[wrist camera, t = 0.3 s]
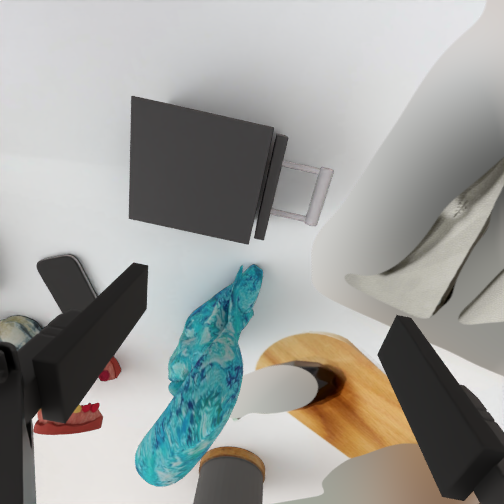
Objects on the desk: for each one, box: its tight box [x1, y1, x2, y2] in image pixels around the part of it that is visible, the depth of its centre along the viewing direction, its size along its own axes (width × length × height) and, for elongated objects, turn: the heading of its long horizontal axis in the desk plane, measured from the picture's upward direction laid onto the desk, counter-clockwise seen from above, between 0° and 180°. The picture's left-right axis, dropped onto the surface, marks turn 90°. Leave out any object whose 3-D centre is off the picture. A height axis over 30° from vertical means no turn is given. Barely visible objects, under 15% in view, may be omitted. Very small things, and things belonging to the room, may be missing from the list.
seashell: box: [0, 315, 42, 351], centre depth 53 cm, size 6×8×12 cm
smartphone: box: [37, 255, 97, 313], centre depth 50 cm, size 8×1×15 cm
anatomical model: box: [33, 357, 121, 435], centre depth 52 cm, size 10×8×15 cm
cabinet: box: [129, 96, 274, 244], centre depth 35 cm, size 15×13×10 cm
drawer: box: [254, 134, 334, 240], centre depth 35 cm, size 20×12×8 cm, turn 78°
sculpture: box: [135, 264, 263, 486], centre depth 38 cm, size 8×22×25 cm, turn 144°
